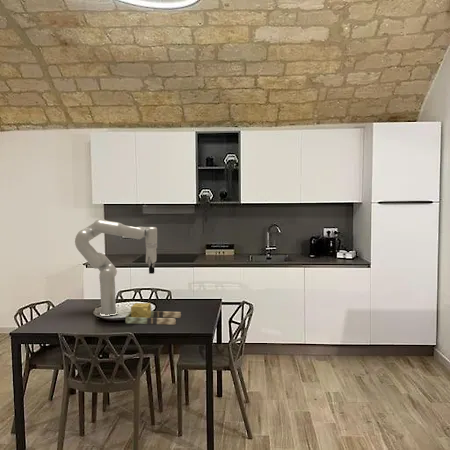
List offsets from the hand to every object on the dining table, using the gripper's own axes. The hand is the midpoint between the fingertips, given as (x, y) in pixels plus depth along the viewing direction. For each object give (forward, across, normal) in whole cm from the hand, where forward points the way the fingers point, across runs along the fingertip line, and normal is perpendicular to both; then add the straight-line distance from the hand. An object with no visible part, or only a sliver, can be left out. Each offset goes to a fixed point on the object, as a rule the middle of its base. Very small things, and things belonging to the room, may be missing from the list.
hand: (151, 273), depth 316 cm
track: (+27, +16, +6) cm, 32 cm away
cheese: (+27, +16, -2) cm, 32 cm away
